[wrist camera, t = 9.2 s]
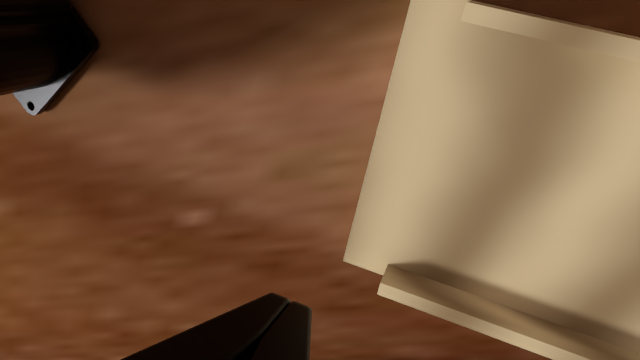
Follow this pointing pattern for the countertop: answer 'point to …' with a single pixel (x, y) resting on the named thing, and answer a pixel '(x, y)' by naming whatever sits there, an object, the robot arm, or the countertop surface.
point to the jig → (509, 180)
